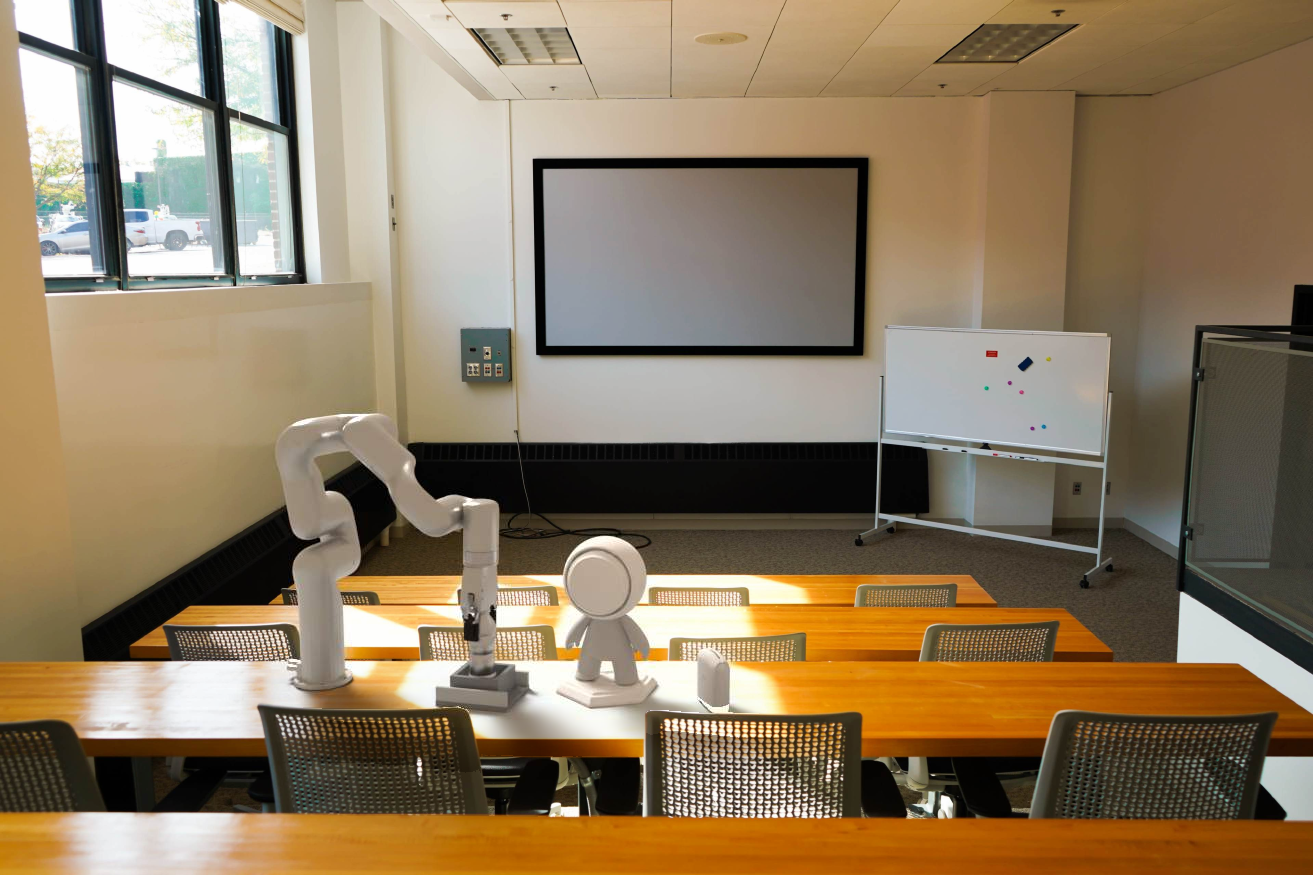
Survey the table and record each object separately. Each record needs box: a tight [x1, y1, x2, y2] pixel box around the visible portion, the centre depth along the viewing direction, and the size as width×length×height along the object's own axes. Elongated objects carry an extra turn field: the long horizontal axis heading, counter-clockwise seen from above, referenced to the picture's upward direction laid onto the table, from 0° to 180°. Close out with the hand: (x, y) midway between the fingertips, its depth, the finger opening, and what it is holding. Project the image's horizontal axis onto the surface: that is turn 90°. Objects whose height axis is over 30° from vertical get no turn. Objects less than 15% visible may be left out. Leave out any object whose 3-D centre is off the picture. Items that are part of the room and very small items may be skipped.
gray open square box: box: [435, 659, 530, 713], centre depth 212 cm, size 16×14×6 cm
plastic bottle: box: [468, 604, 497, 678], centre depth 211 cm, size 6×7×20 cm
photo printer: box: [696, 647, 731, 707], centre depth 207 cm, size 10×4×12 cm, turn 20°
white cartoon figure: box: [555, 535, 658, 709], centre depth 215 cm, size 20×23×35 cm
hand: (480, 633), depth 211 cm, fingers open, 9 cm apart
